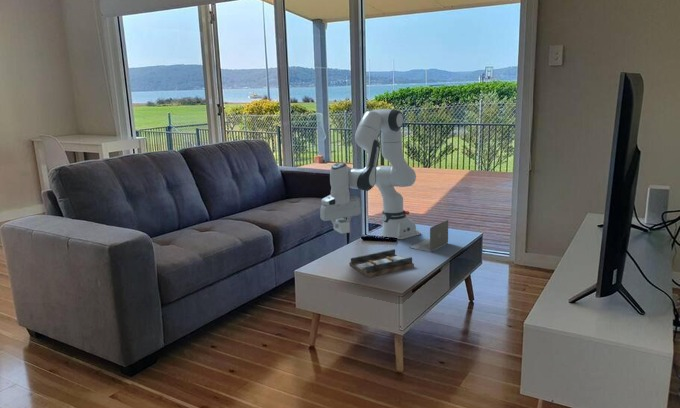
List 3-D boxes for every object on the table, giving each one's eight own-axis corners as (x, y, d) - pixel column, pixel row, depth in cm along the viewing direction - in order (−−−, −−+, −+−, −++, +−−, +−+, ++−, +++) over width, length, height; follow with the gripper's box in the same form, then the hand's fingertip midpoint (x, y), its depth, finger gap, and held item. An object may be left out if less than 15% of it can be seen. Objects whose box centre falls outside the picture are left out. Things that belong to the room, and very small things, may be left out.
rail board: (392, 256, 245) (392, 248, 244) (414, 266, 229) (414, 258, 228) (349, 265, 234) (349, 257, 233) (369, 277, 218) (369, 268, 218)
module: (342, 227, 242) (341, 217, 240) (350, 232, 234) (349, 221, 232) (333, 229, 240) (333, 218, 239) (341, 233, 232) (340, 222, 231)
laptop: (427, 239, 270) (427, 216, 267) (448, 243, 262) (448, 219, 259) (409, 248, 256) (409, 224, 253) (430, 253, 248) (430, 227, 245)
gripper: (356, 194, 240) (357, 221, 244) (317, 200, 231) (319, 228, 235) (362, 196, 235) (363, 224, 238) (323, 202, 226) (325, 232, 229)
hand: (341, 226), depth 236 cm, fingers closed on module, 5 cm apart
